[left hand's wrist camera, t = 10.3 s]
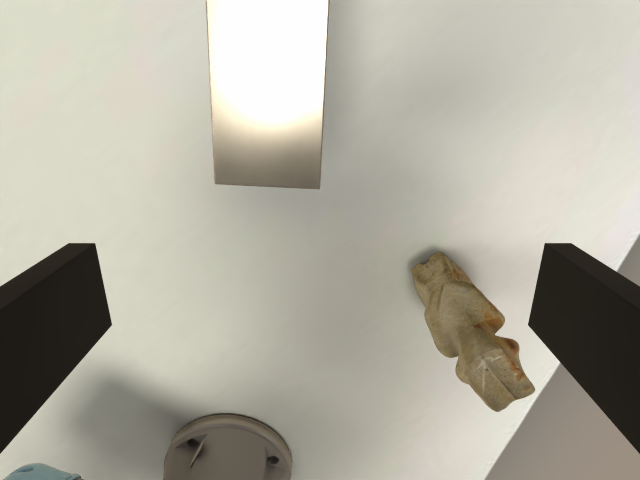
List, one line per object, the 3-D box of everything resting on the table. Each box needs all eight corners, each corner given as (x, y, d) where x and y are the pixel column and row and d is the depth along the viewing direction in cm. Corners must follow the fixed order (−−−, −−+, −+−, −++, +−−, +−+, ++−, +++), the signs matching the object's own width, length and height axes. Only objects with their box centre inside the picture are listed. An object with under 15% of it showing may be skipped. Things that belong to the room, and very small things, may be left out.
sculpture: (430, 317, 43) (480, 431, 29) (395, 265, 41) (431, 362, 27) (481, 290, 42) (558, 396, 28) (448, 235, 40) (513, 320, 26)
